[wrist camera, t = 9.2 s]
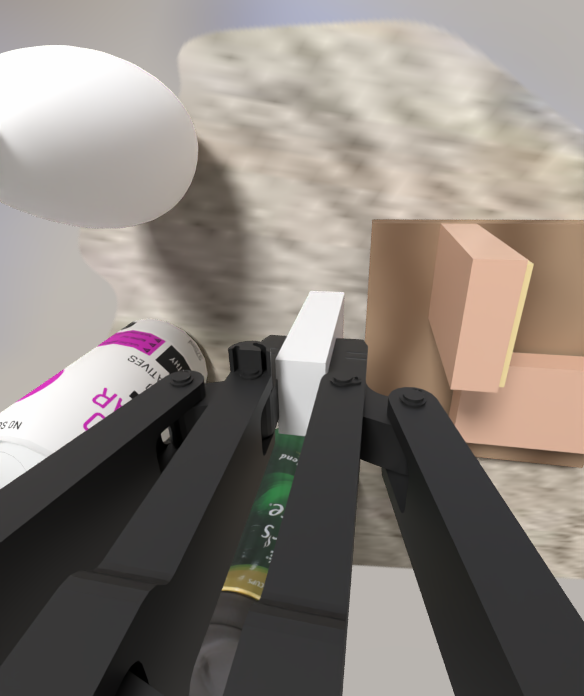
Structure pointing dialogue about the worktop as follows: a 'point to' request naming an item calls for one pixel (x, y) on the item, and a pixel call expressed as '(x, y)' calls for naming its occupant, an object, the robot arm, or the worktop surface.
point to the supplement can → (92, 391)
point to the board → (415, 295)
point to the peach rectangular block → (527, 406)
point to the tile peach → (476, 305)
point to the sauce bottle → (90, 138)
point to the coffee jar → (247, 569)
